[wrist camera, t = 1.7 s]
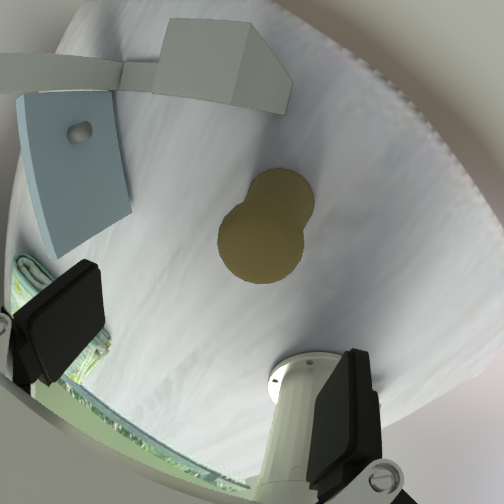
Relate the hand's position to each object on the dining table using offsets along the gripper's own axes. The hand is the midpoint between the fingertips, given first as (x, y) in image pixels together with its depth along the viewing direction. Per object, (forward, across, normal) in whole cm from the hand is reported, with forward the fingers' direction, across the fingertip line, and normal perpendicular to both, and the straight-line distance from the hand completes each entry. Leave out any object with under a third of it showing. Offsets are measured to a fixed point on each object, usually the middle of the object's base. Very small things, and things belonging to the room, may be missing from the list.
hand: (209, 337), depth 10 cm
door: (+17, +16, -1) cm, 24 cm away
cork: (+18, 0, 0) cm, 18 cm away
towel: (+19, +31, +29) cm, 46 cm away
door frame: (+18, +11, -9) cm, 23 cm away
